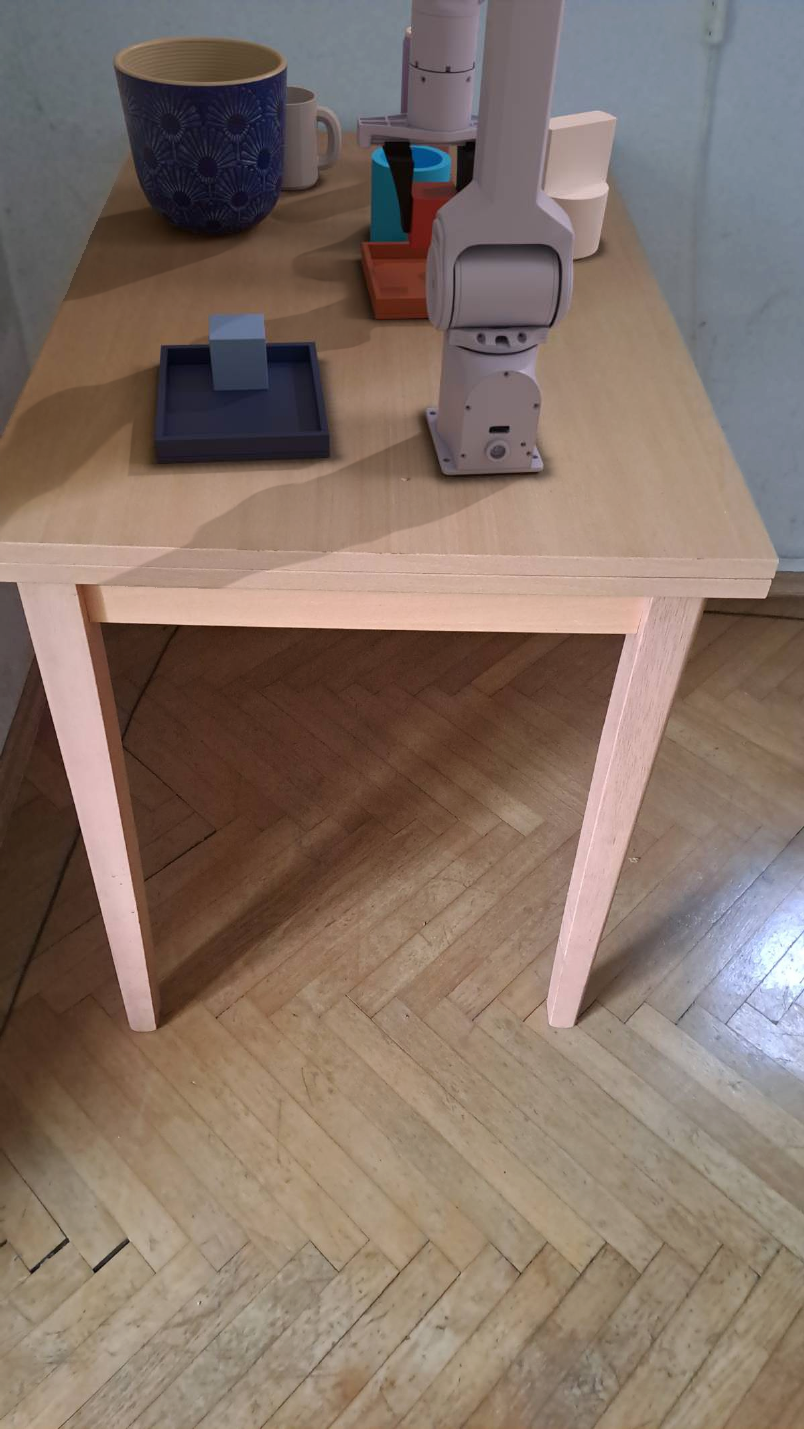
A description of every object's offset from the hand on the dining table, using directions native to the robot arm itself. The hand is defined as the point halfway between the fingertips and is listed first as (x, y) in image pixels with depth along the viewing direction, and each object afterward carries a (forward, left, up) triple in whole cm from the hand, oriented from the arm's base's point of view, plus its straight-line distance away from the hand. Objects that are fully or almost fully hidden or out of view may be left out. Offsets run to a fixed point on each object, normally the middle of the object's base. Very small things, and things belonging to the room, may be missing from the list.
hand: (432, 228), depth 95 cm
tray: (0, 0, -6) cm, 6 cm away
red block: (0, 0, -1) cm, 1 cm away
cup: (+30, +11, -6) cm, 33 cm away
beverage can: (+31, -4, -6) cm, 32 cm away
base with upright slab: (+11, -16, -6) cm, 20 cm away
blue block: (-18, +19, -5) cm, 27 cm away
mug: (+14, 0, -6) cm, 15 cm away
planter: (+18, +21, -6) cm, 28 cm away
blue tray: (-23, +19, -6) cm, 30 cm away
